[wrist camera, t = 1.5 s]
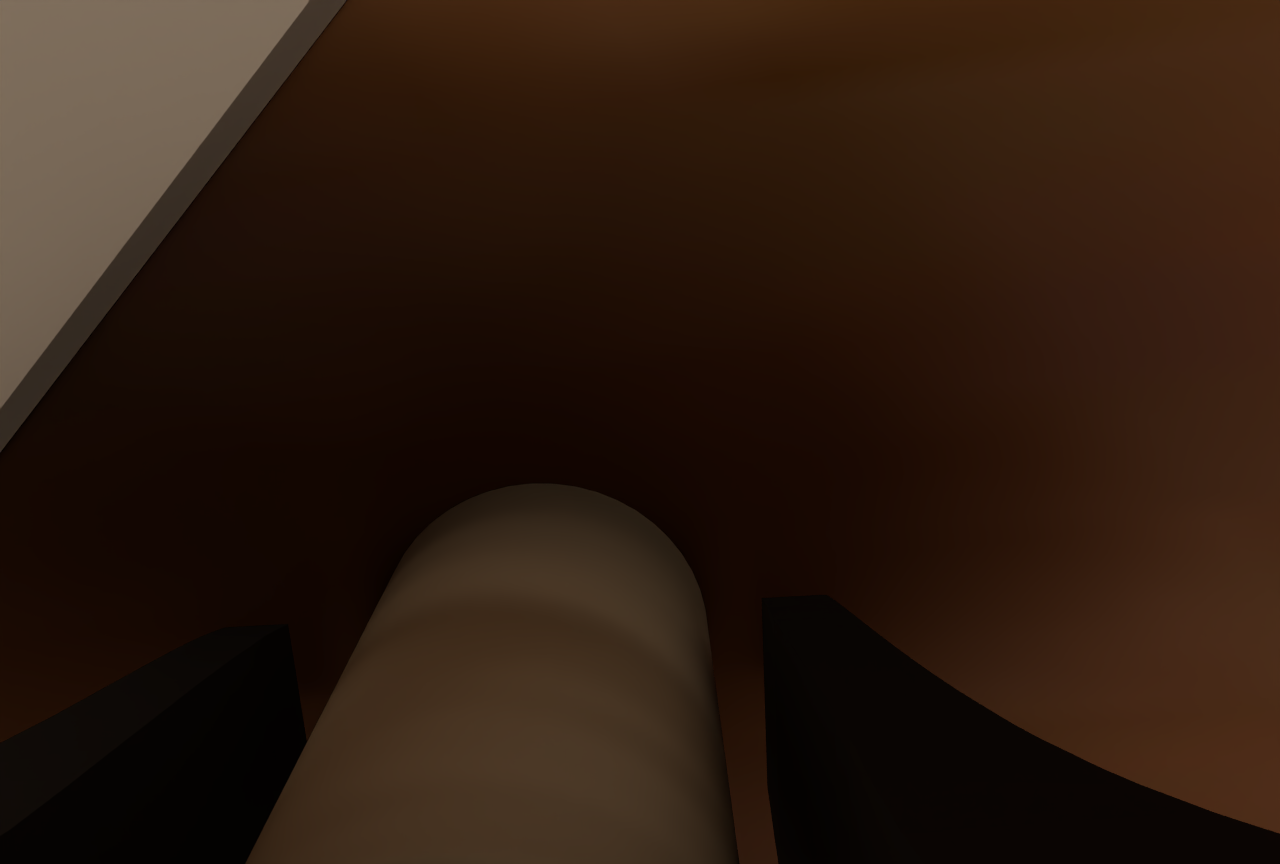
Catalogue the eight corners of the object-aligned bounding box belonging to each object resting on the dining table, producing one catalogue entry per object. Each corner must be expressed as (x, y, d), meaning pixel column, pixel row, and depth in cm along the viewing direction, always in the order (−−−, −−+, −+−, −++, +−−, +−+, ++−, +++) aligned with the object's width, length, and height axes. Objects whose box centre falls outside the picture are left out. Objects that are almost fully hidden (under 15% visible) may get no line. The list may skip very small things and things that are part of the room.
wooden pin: (563, 835, 13) (503, 1426, 7) (316, 649, 12) (33, 1139, 7) (775, 625, 12) (899, 1094, 6) (524, 415, 12) (413, 734, 6)
